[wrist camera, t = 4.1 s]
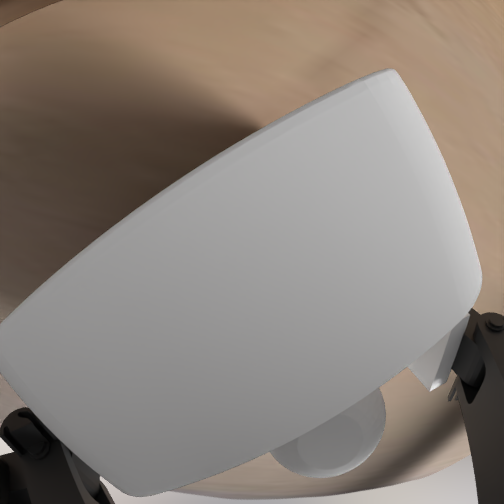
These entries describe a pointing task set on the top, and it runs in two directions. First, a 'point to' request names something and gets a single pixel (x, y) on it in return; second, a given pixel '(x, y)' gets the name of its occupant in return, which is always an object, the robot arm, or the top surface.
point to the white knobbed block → (254, 301)
